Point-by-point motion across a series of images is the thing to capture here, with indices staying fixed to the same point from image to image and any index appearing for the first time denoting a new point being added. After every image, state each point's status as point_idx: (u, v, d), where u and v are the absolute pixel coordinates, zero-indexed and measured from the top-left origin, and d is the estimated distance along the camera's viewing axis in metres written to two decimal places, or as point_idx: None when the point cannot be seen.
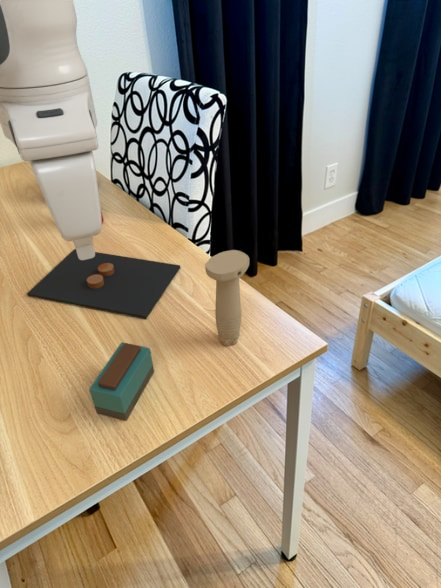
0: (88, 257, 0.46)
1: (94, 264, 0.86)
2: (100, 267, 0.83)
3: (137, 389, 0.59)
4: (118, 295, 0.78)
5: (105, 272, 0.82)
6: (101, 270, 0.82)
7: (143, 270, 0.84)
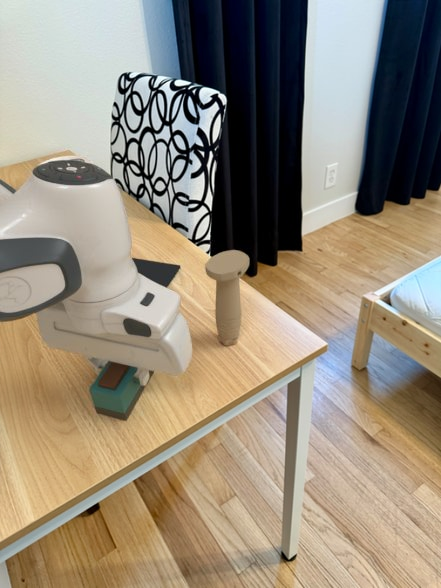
0: (147, 380, 0.58)
1: None
2: None
3: (137, 389, 0.59)
4: None
5: None
6: None
7: (143, 270, 0.84)
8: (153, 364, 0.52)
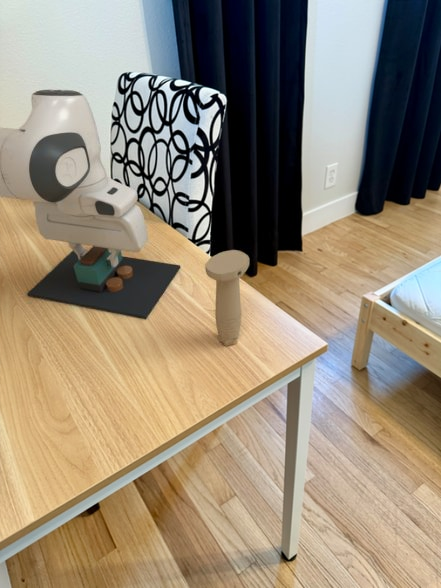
0: (116, 264, 0.79)
1: None
2: (119, 270, 0.82)
3: (109, 271, 0.80)
4: (118, 295, 0.78)
5: (124, 275, 0.81)
6: (120, 273, 0.81)
7: (143, 270, 0.84)
8: (118, 243, 0.73)
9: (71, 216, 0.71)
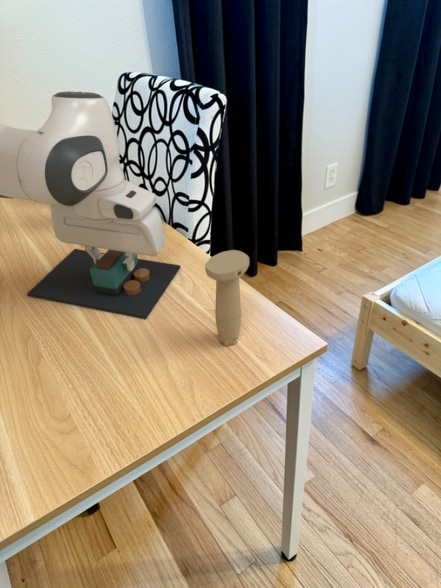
0: (132, 268, 0.78)
1: None
2: (136, 273, 0.81)
3: (125, 275, 0.79)
4: (118, 295, 0.78)
5: (141, 278, 0.80)
6: (137, 276, 0.80)
7: None
8: (136, 247, 0.72)
9: (88, 219, 0.70)
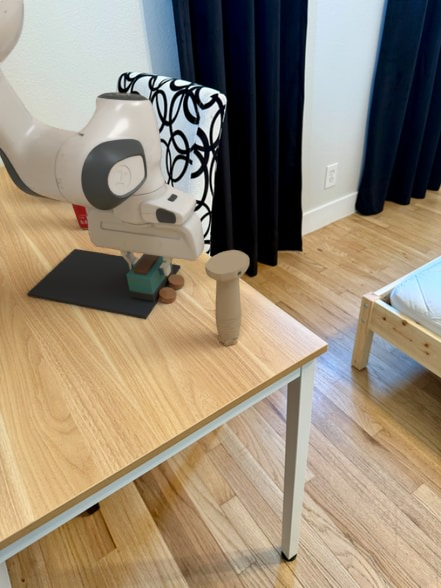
0: (169, 272, 0.76)
1: (94, 264, 0.86)
2: (170, 278, 0.79)
3: (161, 280, 0.77)
4: (118, 295, 0.78)
5: (177, 285, 0.79)
6: (172, 282, 0.79)
7: None
8: (175, 251, 0.70)
9: (128, 224, 0.69)
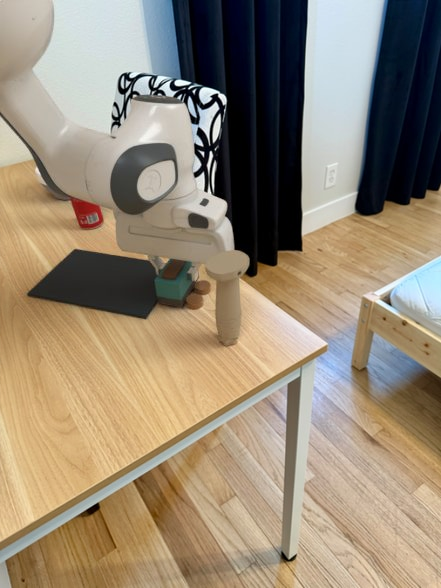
0: (196, 278, 0.75)
1: (94, 264, 0.86)
2: (197, 285, 0.78)
3: (188, 285, 0.76)
4: (118, 295, 0.78)
5: (204, 290, 0.77)
6: (199, 288, 0.78)
7: (143, 270, 0.84)
8: (205, 257, 0.69)
9: (158, 228, 0.67)
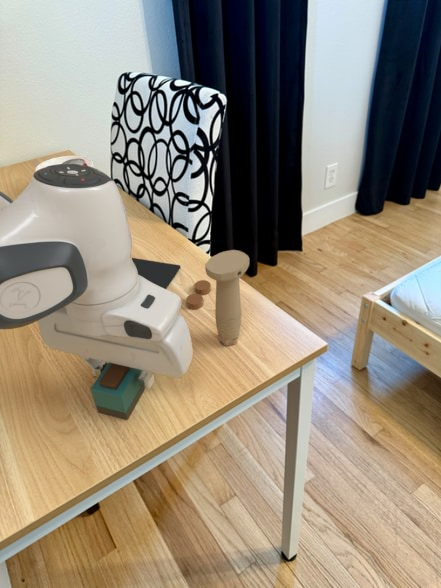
0: (152, 383, 0.58)
1: None
2: (197, 285, 0.78)
3: (138, 388, 0.59)
4: None
5: (204, 290, 0.77)
6: (199, 288, 0.78)
7: (143, 270, 0.84)
8: (154, 366, 0.52)
9: None
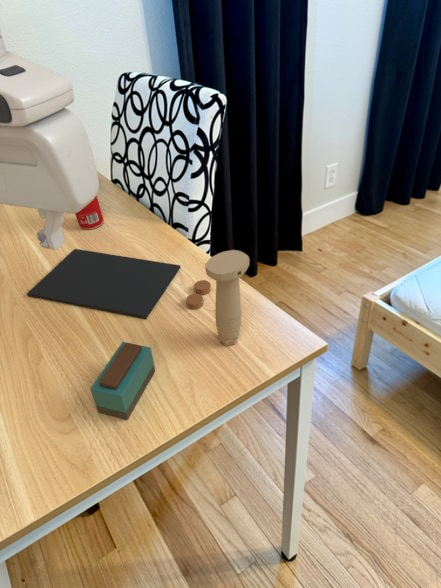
0: (60, 244, 0.40)
1: (94, 264, 0.86)
2: (197, 285, 0.78)
3: (138, 388, 0.59)
4: (118, 295, 0.78)
5: (204, 290, 0.77)
6: (199, 288, 0.78)
7: (143, 270, 0.84)
8: (36, 194, 0.35)
9: None
